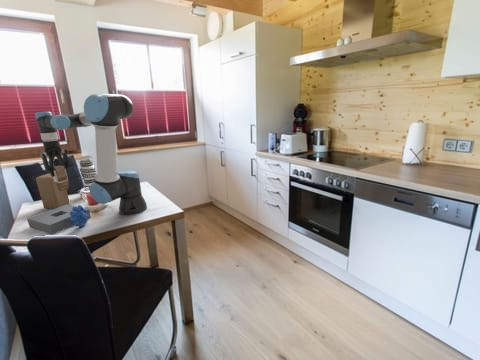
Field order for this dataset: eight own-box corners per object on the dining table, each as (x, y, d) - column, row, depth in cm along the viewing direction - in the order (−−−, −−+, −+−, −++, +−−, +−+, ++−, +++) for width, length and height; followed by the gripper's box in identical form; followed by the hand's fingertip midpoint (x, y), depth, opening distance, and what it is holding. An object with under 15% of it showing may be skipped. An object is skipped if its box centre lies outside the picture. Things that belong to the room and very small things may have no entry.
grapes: (82, 232, 124) (77, 209, 120) (69, 232, 124) (63, 210, 121) (96, 221, 135) (91, 200, 131) (84, 221, 135) (78, 200, 132)
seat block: (90, 217, 140) (88, 209, 139) (52, 234, 123) (49, 225, 122) (68, 212, 149) (66, 204, 147) (29, 227, 131) (26, 218, 130)
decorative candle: (82, 195, 176) (74, 160, 169) (94, 191, 184) (86, 157, 177) (92, 196, 173) (83, 161, 165) (103, 192, 181) (96, 158, 174)
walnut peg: (70, 188, 150) (64, 165, 146) (62, 191, 146) (55, 167, 142) (65, 188, 152) (59, 165, 148) (57, 190, 148) (50, 167, 144)
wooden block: (70, 202, 164) (62, 172, 158) (58, 208, 154) (49, 177, 148) (56, 202, 165) (48, 173, 159) (43, 208, 155) (34, 177, 149)
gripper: (62, 138, 150) (72, 175, 157) (28, 142, 135) (40, 184, 142) (70, 138, 147) (80, 176, 154) (36, 143, 132) (48, 185, 138)
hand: (61, 180), depth 148 cm, fingers closed on walnut peg, 5 cm apart
